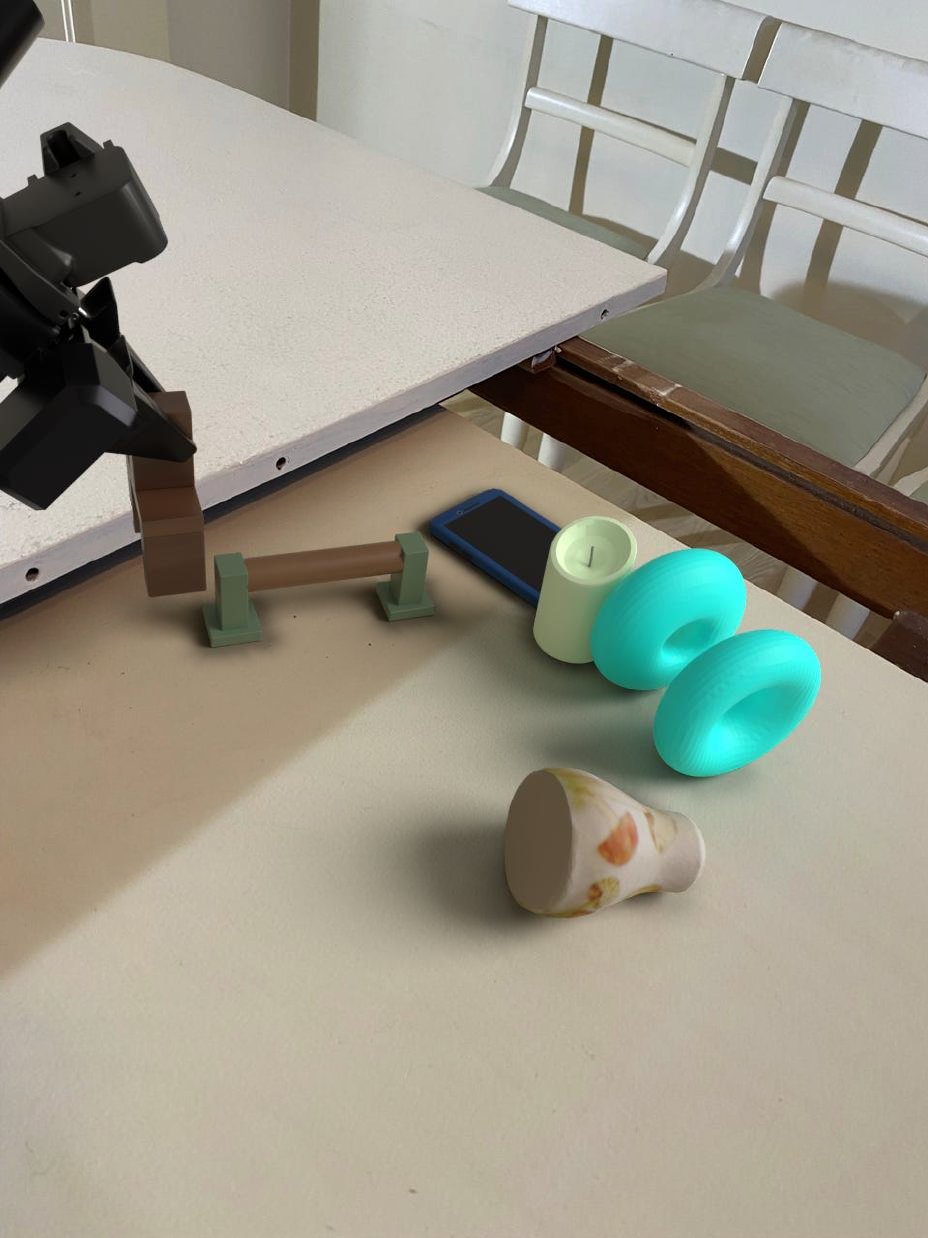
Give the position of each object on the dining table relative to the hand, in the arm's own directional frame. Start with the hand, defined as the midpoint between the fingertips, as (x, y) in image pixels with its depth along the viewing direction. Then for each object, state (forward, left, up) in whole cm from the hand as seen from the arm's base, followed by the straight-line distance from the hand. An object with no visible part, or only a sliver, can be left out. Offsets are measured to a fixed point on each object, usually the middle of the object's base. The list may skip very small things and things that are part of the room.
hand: (187, 442), depth 53 cm
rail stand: (+7, +1, -13) cm, 15 cm away
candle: (+23, -1, -13) cm, 27 cm away
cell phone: (+22, +7, -14) cm, 27 cm away
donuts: (+28, -9, -14) cm, 32 cm away
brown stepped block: (-1, 0, -7) cm, 7 cm away
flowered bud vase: (+20, -19, -14) cm, 31 cm away
